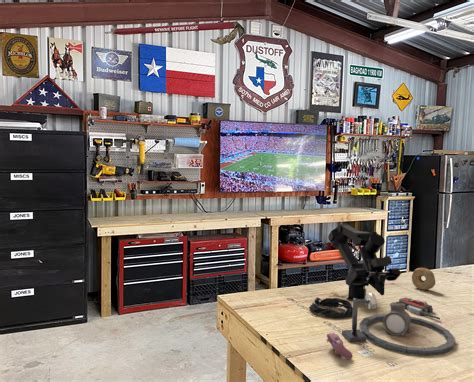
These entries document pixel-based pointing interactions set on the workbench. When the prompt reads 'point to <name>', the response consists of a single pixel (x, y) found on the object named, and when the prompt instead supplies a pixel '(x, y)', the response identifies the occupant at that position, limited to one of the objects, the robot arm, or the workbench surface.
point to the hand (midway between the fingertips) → (382, 294)
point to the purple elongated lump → (338, 345)
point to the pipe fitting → (396, 319)
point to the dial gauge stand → (355, 334)
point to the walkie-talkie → (418, 307)
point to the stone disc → (419, 282)
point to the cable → (331, 303)
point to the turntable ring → (405, 349)
